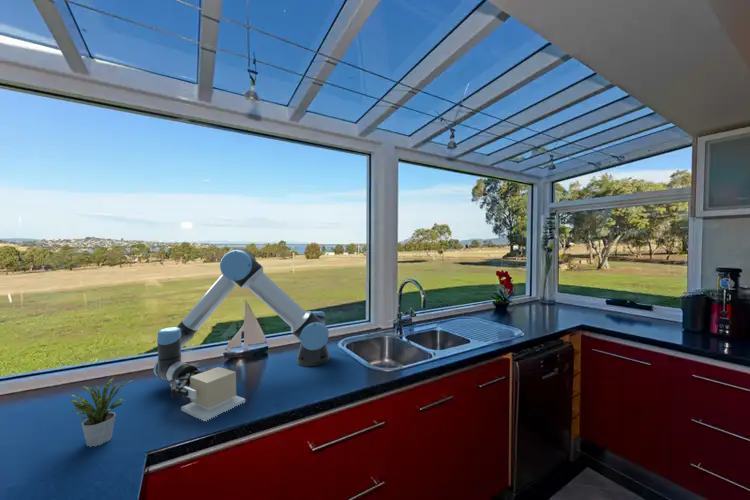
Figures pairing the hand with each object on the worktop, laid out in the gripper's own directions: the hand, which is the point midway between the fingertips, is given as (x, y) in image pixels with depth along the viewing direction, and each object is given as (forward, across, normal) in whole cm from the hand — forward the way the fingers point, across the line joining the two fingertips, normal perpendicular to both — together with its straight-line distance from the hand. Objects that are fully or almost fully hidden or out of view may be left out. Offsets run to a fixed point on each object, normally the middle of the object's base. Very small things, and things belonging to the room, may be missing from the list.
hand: (216, 386), depth 103 cm
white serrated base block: (-2, 0, -7) cm, 7 cm away
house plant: (-12, +26, -7) cm, 29 cm away
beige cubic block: (-2, 0, -4) cm, 5 cm away
